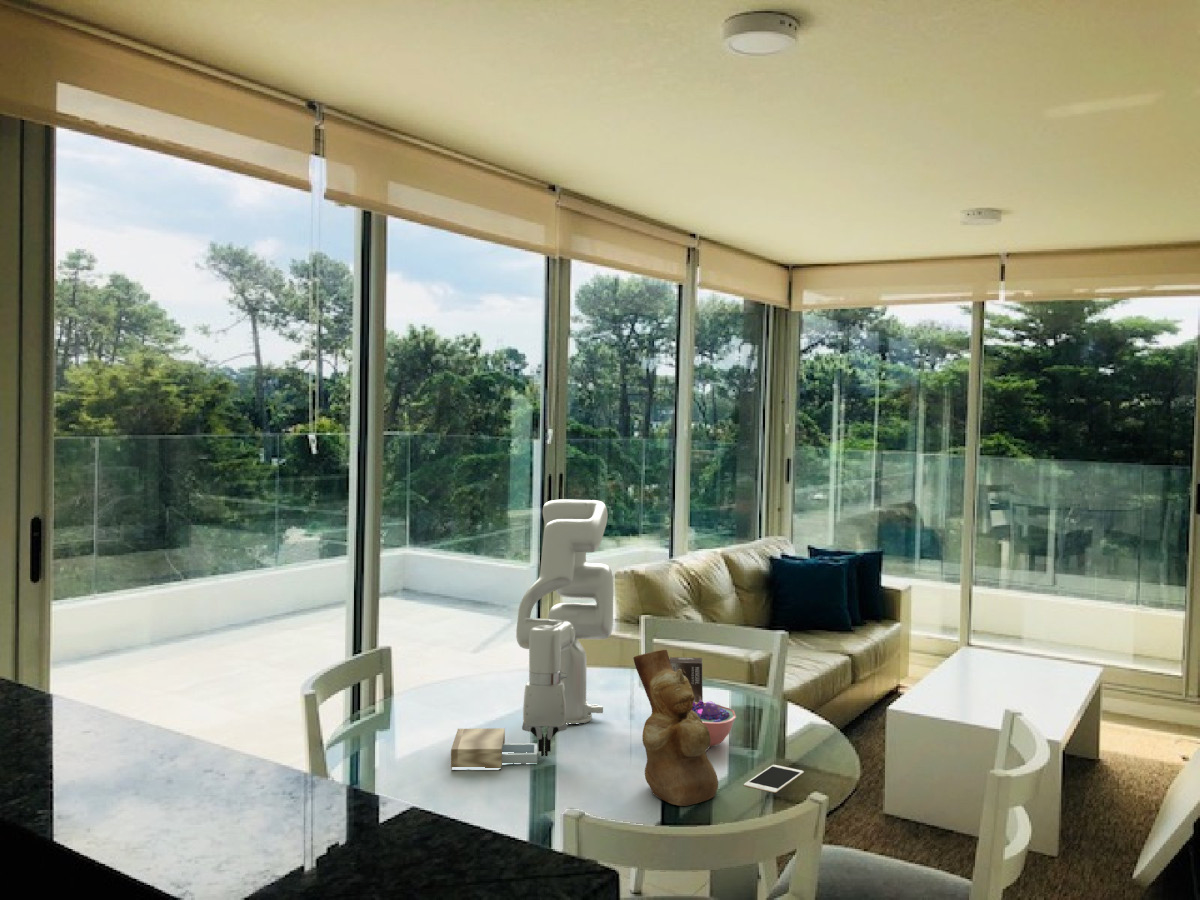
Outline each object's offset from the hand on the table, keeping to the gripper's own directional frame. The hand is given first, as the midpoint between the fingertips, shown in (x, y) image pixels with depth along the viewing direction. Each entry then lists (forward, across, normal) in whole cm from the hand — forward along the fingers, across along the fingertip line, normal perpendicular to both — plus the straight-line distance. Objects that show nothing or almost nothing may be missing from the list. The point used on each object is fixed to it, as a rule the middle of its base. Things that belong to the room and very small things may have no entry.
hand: (544, 754), depth 234 cm
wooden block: (+1, +16, 0) cm, 16 cm away
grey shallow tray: (+1, +9, 0) cm, 9 cm away
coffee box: (+1, -38, -32) cm, 50 cm away
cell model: (+1, -38, -10) cm, 40 cm away
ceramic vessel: (+1, -28, +21) cm, 35 cm away
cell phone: (+2, -52, +15) cm, 54 cm away
